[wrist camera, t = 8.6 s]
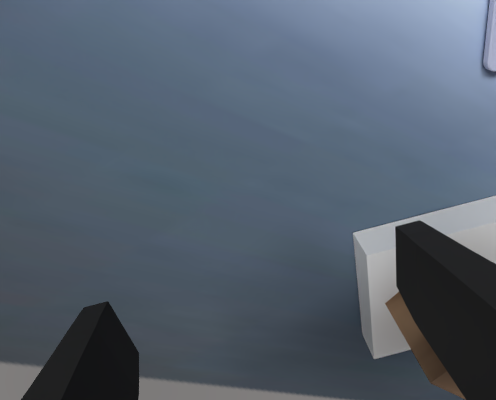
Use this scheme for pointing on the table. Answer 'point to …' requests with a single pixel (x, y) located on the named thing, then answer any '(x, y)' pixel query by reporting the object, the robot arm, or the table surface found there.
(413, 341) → the walnut cube
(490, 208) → the white slab
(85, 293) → the table surface
